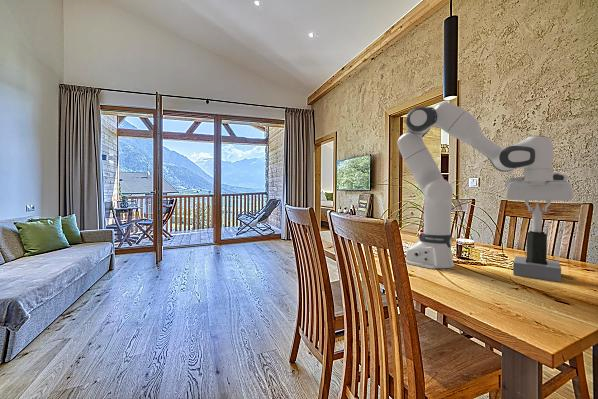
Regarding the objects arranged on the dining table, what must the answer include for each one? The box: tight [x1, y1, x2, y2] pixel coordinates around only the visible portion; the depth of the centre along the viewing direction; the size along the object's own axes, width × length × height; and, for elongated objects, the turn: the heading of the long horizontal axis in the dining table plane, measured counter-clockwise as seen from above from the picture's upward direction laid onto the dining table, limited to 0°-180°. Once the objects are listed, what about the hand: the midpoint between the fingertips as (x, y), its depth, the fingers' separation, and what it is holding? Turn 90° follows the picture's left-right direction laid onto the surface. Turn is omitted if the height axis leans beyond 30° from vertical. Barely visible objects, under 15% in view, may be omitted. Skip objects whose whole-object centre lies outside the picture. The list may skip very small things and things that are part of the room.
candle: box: [526, 202, 548, 265], centre depth 114 cm, size 5×5×25 cm
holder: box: [512, 255, 562, 283], centre depth 114 cm, size 14×14×5 cm
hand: (537, 211), depth 113 cm, fingers closed on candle, 3 cm apart
